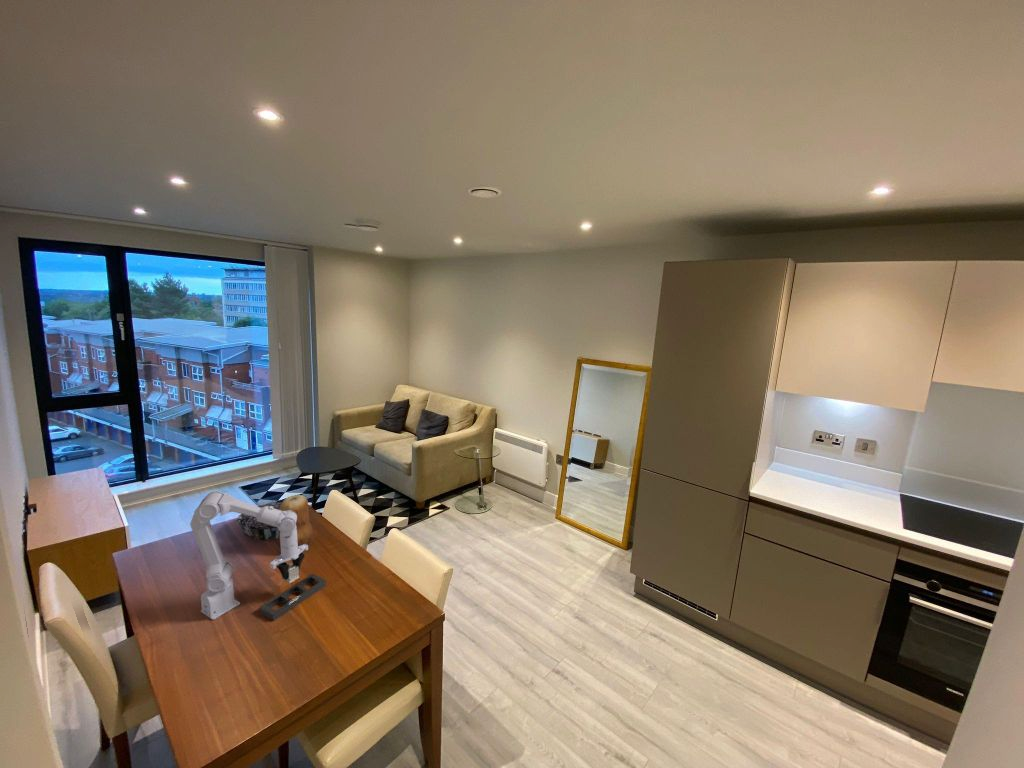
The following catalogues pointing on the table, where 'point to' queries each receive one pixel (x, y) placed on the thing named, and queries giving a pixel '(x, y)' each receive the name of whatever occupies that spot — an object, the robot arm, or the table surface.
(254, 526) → the decorative bowl
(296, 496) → the butternut squash
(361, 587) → the table surface
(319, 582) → the rack rail
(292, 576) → the block
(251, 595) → the table surface
